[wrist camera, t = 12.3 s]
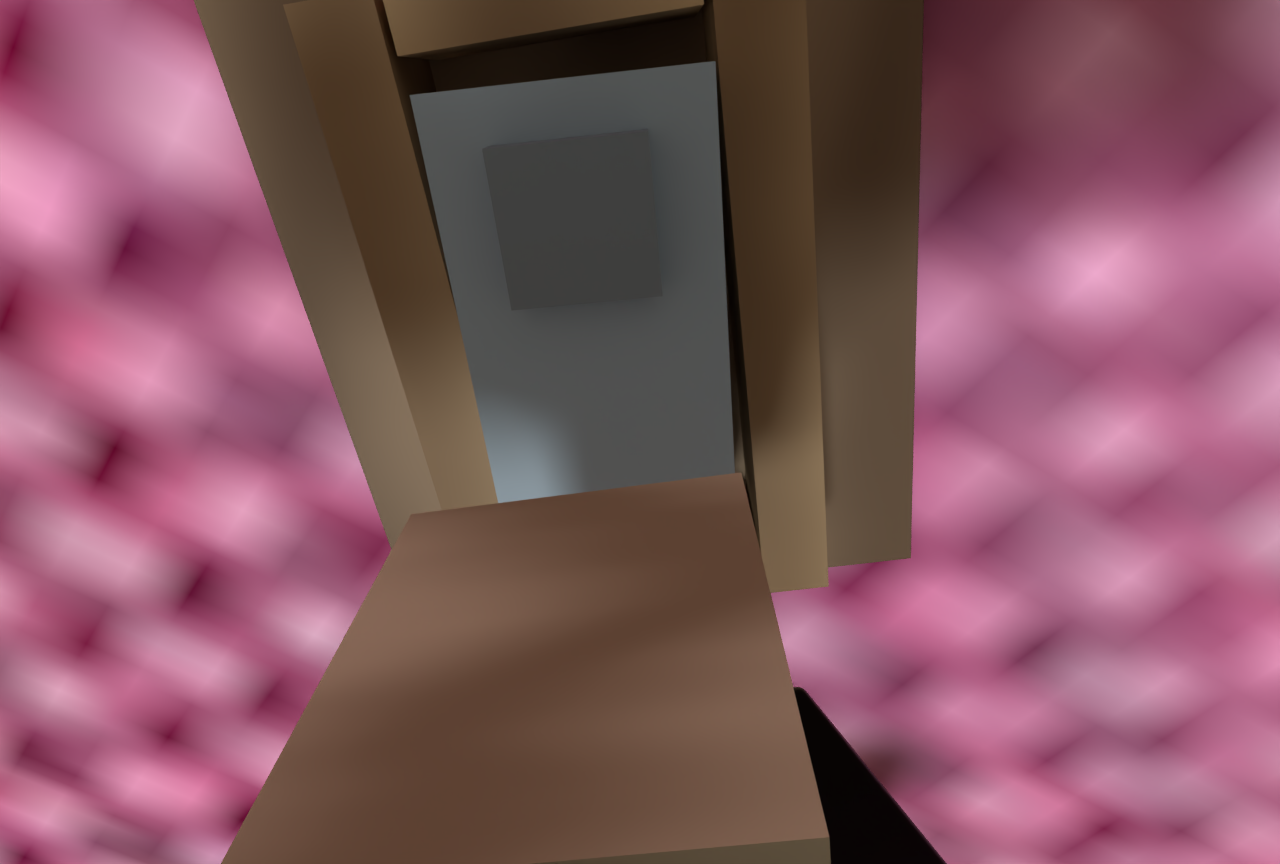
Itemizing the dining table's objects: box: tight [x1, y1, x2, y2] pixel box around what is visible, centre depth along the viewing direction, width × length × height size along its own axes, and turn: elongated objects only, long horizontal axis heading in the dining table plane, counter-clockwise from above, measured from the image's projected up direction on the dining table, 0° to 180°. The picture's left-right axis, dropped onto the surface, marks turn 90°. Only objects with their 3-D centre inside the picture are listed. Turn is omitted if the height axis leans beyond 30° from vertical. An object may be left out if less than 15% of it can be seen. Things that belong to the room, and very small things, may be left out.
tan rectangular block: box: [221, 472, 831, 864], centre depth 8 cm, size 4×6×4 cm
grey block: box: [410, 61, 735, 503], centre depth 14 cm, size 4×10×5 cm, turn 6°
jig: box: [194, 0, 924, 593], centre depth 16 cm, size 14×16×3 cm
